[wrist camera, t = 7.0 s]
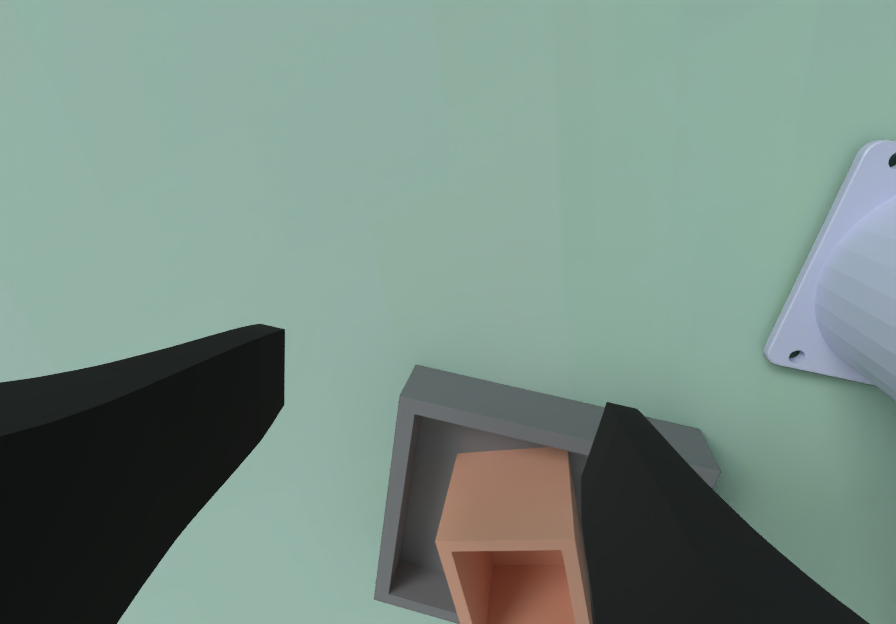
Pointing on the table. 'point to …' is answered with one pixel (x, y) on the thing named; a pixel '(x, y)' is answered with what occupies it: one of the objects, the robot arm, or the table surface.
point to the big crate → (477, 430)
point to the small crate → (514, 539)
